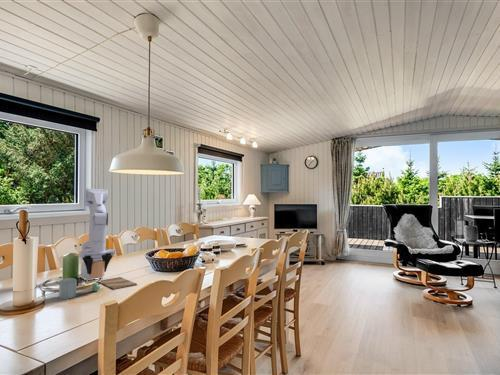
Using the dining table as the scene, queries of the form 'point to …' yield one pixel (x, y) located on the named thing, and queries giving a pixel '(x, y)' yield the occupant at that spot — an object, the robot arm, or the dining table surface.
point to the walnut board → (117, 283)
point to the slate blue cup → (67, 288)
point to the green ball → (95, 287)
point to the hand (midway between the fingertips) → (96, 272)
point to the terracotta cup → (97, 269)
